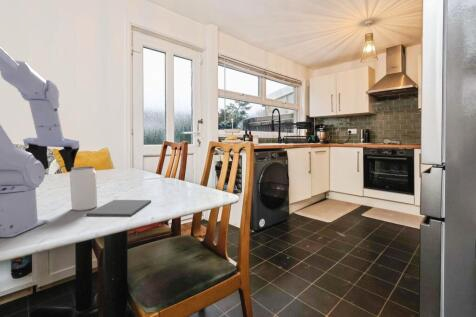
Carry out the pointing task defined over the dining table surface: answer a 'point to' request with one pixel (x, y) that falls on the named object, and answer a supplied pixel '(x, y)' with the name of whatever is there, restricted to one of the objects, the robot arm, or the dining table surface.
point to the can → (83, 188)
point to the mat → (119, 208)
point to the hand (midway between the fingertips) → (57, 169)
